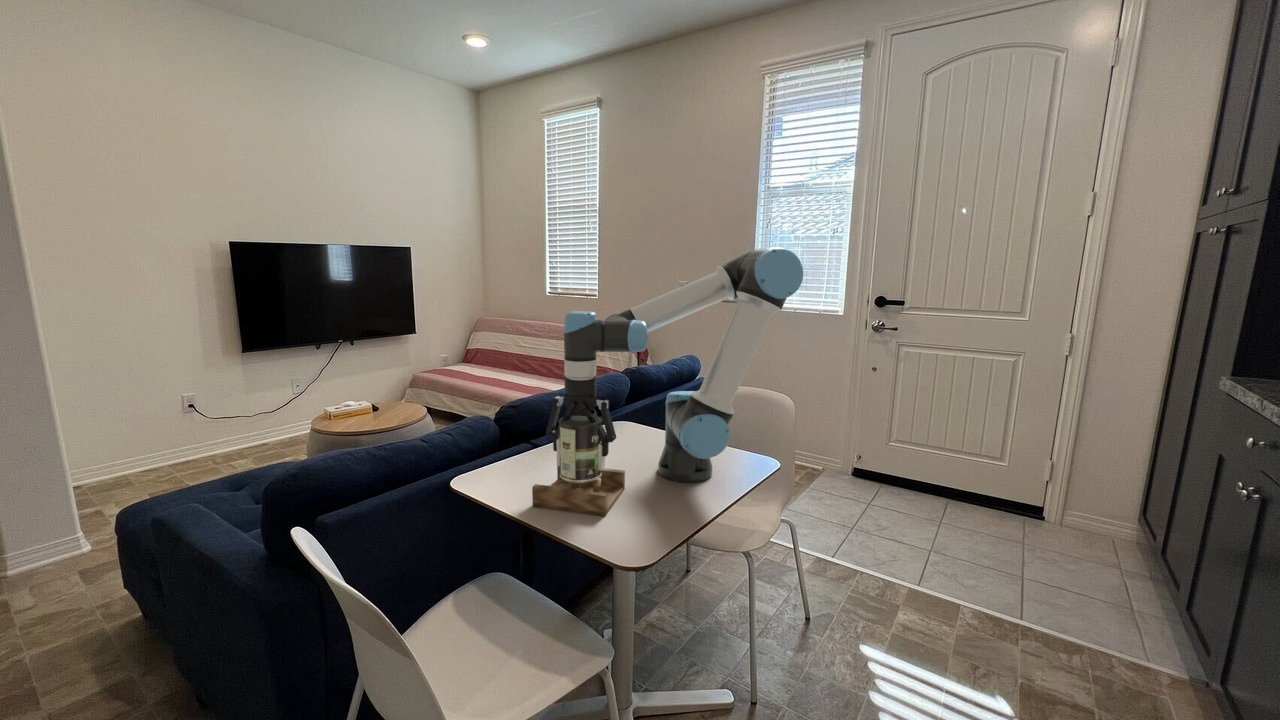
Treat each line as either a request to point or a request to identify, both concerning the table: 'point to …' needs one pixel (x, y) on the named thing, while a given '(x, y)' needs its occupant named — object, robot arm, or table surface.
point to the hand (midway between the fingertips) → (580, 466)
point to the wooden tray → (581, 493)
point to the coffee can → (579, 449)
